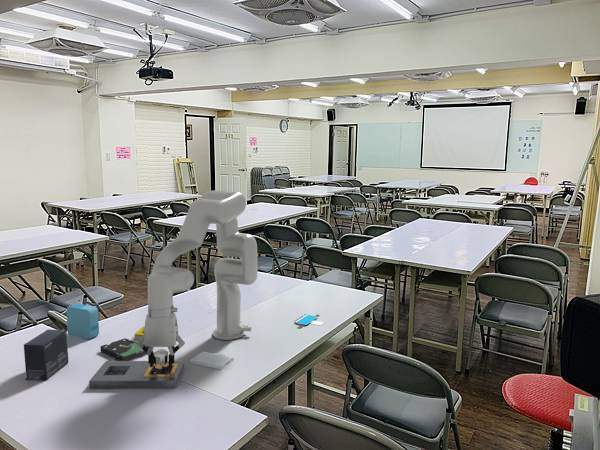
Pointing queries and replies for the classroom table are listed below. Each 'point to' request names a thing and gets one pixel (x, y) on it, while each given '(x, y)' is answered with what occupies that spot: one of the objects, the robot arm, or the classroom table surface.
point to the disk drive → (123, 350)
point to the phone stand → (307, 320)
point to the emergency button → (138, 334)
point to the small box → (46, 354)
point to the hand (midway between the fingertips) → (161, 364)
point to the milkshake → (161, 361)
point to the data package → (82, 321)
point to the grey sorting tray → (135, 375)
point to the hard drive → (211, 360)
